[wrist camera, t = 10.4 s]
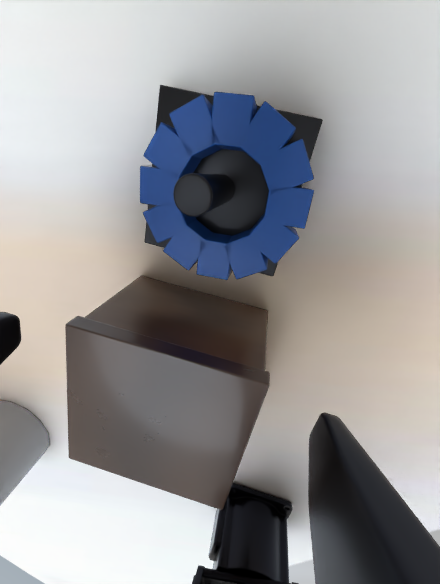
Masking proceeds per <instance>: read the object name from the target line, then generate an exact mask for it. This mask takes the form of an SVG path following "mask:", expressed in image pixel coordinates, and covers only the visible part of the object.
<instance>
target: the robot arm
mask: <svg viewBox="0 0 440 584" xmlns="http://www.w3.org/2000/svg"><path fill="white" fill-rule="evenodd" d="M20 342H21V331H20V320H19V318H18V317H17V316H16V315H13V314H10V313H7V312H0V364H1V363H2V362H3V361H4V360H5V359H6V358H7V357H8V356H9V355H10V354H11V353H12V352H13V351H14V350H15V349H16V348H17V347H18V346H19V344H20ZM308 496H309V516H310V528H311V539H312V550H313V561H314V572H315V583H316V584H440V547H439V545H438V544H437V543H436V541H435V540H434V539H433V538H432V536H431V535H430V534H429V532H428V531H427V530H426V528H425V527H424V526H423V525H422V523H421V522H420V521H419V519H418V518H417V517H416V516H415V514H414V513H413V512H412V510H411V509H410V508H409V507H408V505H407V504H406V503H405V501H404V500H403V499H402V498H401V496H400V495H399V494H398V493H397V491H396V490H395V489H394V487H393V486H392V485H391V484H390V482H389V481H388V480H387V478H386V477H385V476H384V475H383V473H382V472H381V471H380V469H379V468H378V467H377V466H376V464H375V463H374V462H373V460H372V459H371V458H370V457H369V455H368V454H367V453H366V451H365V450H364V449H363V448H362V446H361V445H360V444H359V443H358V441H357V440H356V439H355V437H354V436H353V435H352V434H351V432H350V431H349V430H348V428H347V427H346V426H345V425H344V423H343V422H342V421H341V419H340V418H339V417H337V416H335V415H331V414H328V413H322V414H321V415H320V416H319V418H318V420H317V422H316V424H315V426H314V428H313V430H312V432H311V434H310V438H309V489H308ZM291 511H292V504H291V503H290V502H288V501H285V500H282V499H279V498H276V497H273V496H270V495H267V494H264V493H261V492H258V491H255V490H252V489H249V488H246V487H243V486H240V485H237V484H232V486H231V489H230V491H229V494H228V497H227V499H226V502H225V505H224V507H223V509H222V510H220V509H217V511H216V516H215V522H214V528H213V533H212V539H211V545H210V551H209V558H210V560H213V561H214V564H213V569H208V568H205V567H204V566H198V569H197V573H196V575H194V579H193V582H192V584H291V583H289V569H288V541H287V518H288V517H289V515H290V513H291ZM292 584H298V583H293V582H292Z"/></svg>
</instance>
